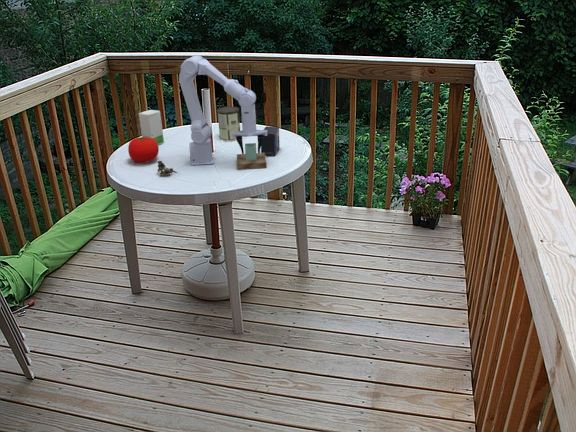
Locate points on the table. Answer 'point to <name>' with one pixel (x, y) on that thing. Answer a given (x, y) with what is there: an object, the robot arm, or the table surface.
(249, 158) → the teal block
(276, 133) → the small box
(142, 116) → the skincare box
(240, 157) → the walnut slab
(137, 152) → the tomato
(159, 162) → the gnarled brown figurine
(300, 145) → the table surface
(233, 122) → the coffee can
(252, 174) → the table surface
